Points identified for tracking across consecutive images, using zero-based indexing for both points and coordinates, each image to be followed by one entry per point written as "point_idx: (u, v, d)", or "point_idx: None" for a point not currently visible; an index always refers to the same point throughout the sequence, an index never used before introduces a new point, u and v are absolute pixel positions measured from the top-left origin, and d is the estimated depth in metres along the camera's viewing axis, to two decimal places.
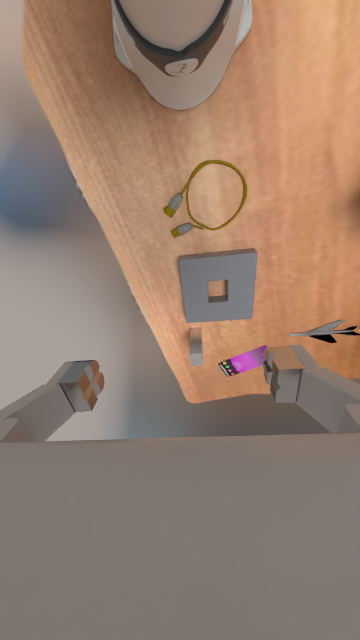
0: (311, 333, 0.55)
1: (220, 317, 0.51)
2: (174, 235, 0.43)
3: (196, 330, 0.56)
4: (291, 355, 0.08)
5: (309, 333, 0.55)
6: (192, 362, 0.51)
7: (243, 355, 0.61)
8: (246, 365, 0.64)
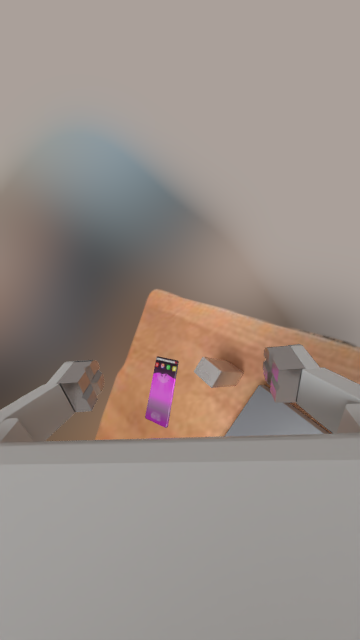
0: None
1: (236, 429, 0.35)
2: None
3: (236, 381, 0.39)
4: (291, 355, 0.08)
5: None
6: (206, 363, 0.34)
7: (170, 395, 0.48)
8: (157, 386, 0.51)
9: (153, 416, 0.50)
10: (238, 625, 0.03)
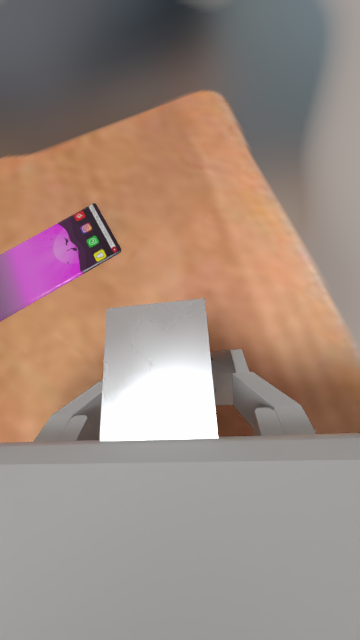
0: None
1: None
2: None
3: None
4: (228, 359, 0.09)
5: None
6: (187, 341, 0.06)
7: (42, 290, 0.19)
8: (38, 250, 0.20)
9: None
10: (238, 625, 0.03)
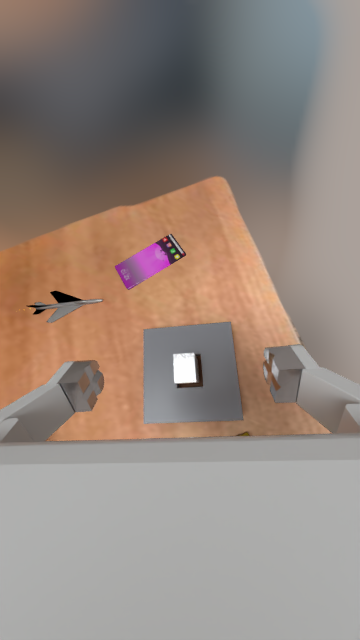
0: (77, 303, 0.46)
1: (183, 330, 0.38)
2: None
3: None
4: (291, 355, 0.08)
5: (80, 304, 0.46)
6: (190, 361, 0.29)
7: (153, 271, 0.46)
8: (148, 255, 0.47)
9: (123, 272, 0.47)
10: (238, 625, 0.03)
